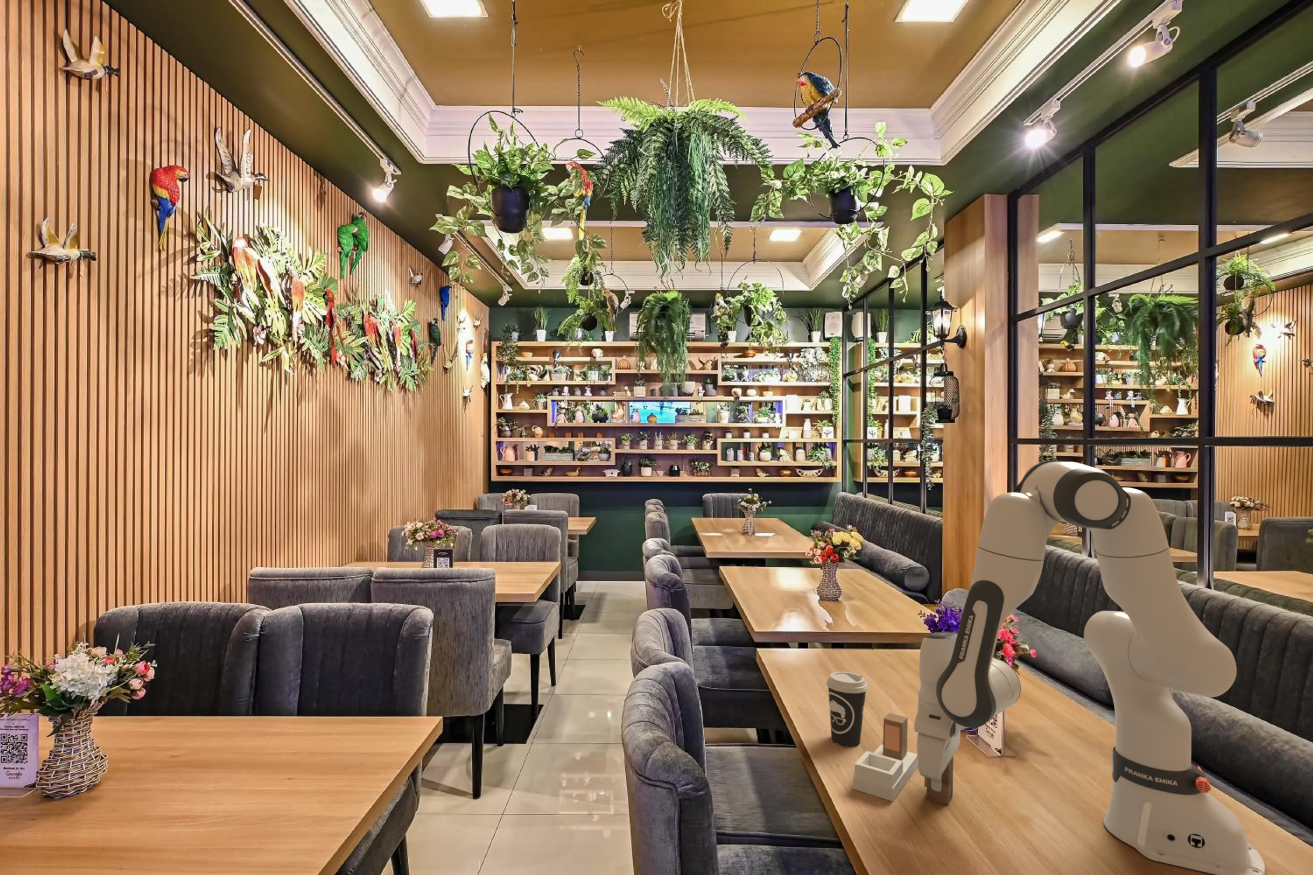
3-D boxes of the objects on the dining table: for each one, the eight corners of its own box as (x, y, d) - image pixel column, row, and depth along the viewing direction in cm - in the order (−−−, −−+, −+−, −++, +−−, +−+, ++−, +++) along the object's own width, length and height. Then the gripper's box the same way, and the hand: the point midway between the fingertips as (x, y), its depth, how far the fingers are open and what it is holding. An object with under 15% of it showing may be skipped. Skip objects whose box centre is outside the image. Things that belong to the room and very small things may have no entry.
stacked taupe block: (928, 789, 136) (929, 749, 136) (952, 796, 133) (953, 756, 134) (923, 797, 133) (924, 756, 133) (948, 805, 130) (949, 763, 130)
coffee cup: (868, 751, 153) (870, 685, 153) (825, 746, 154) (827, 681, 155) (864, 734, 162) (866, 672, 162) (823, 730, 164) (825, 668, 164)
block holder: (917, 765, 146) (918, 717, 147) (892, 801, 131) (894, 747, 131) (880, 755, 151) (881, 708, 151) (852, 788, 135) (853, 736, 136)
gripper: (936, 695, 144) (935, 760, 143) (911, 725, 127) (910, 799, 127) (968, 702, 140) (967, 769, 140) (947, 734, 123) (945, 810, 123)
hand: (940, 783), depth 133 cm, fingers closed on stacked taupe block, 4 cm apart
